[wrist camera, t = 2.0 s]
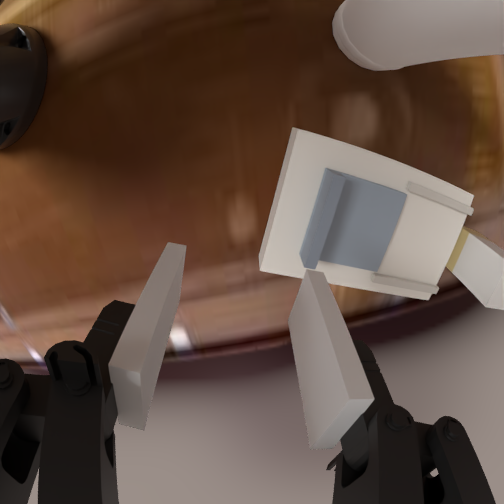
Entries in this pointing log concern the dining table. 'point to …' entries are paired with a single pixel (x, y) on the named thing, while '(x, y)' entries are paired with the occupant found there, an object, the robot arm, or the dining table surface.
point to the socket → (406, 231)
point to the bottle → (417, 31)
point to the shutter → (351, 222)
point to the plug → (479, 267)
